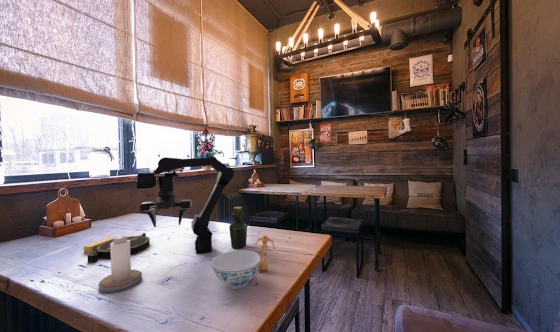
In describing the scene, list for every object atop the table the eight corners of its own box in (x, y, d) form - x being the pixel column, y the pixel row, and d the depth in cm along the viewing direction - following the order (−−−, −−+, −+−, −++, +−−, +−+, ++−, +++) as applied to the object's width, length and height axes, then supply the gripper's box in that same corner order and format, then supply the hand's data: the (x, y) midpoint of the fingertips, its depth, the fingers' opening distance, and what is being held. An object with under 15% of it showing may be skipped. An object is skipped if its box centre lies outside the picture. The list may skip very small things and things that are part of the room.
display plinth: (146, 272, 82) (146, 267, 82) (134, 289, 71) (134, 283, 71) (109, 277, 79) (108, 271, 79) (90, 296, 68) (90, 289, 68)
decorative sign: (123, 231, 122) (165, 234, 117) (124, 238, 122) (165, 240, 117) (61, 253, 93) (113, 257, 88) (62, 261, 94) (113, 266, 89)
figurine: (249, 271, 81) (248, 237, 81) (257, 263, 87) (256, 232, 87) (271, 274, 78) (270, 239, 78) (277, 266, 84) (277, 234, 84)
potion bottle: (250, 247, 104) (250, 207, 104) (234, 251, 99) (233, 210, 99) (243, 242, 111) (242, 205, 110) (227, 246, 106) (226, 207, 106)
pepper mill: (134, 274, 77) (133, 235, 76) (120, 282, 72) (119, 240, 71) (122, 272, 78) (121, 234, 78) (107, 280, 73) (106, 239, 73)
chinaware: (220, 271, 81) (220, 250, 81) (263, 271, 81) (262, 250, 80) (205, 297, 66) (205, 270, 66) (257, 297, 66) (256, 270, 65)
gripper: (133, 191, 84) (134, 233, 84) (188, 189, 89) (189, 229, 89) (143, 188, 95) (144, 225, 95) (191, 186, 100) (192, 222, 100)
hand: (167, 225), depth 95 cm, fingers open, 9 cm apart
